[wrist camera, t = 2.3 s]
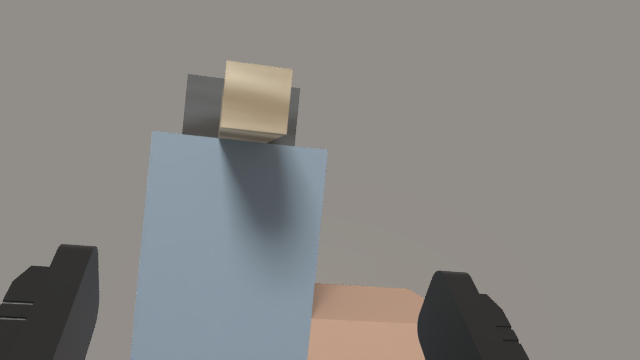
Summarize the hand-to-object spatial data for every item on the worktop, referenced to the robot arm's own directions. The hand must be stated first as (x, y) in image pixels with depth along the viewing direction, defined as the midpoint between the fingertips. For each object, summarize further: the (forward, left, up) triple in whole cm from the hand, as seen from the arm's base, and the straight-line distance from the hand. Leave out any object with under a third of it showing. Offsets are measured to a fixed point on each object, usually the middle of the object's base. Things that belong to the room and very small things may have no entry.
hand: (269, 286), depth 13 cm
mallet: (0, +23, +5) cm, 23 cm away
